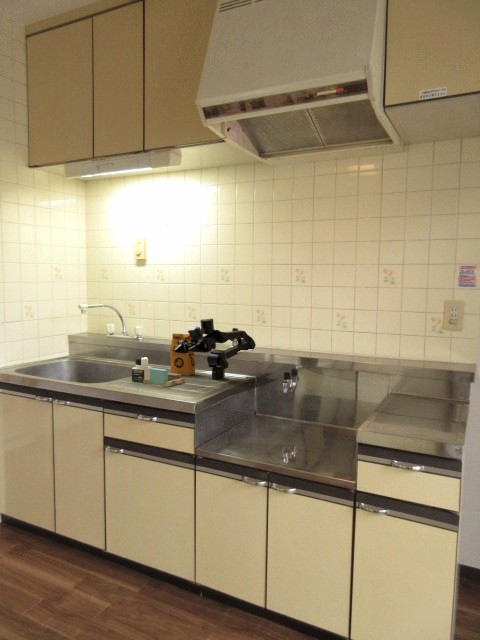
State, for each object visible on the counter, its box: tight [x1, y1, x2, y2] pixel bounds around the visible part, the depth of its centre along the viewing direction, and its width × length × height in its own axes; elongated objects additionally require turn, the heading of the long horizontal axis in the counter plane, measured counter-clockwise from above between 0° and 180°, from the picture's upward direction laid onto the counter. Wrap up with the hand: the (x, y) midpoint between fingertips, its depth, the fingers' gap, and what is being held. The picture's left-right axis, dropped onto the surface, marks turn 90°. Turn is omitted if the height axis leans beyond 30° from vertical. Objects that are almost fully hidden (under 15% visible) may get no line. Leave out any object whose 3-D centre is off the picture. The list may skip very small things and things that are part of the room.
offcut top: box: [168, 372, 182, 379], centre depth 220 cm, size 4×8×2 cm, turn 60°
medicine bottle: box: [131, 356, 153, 383], centre depth 223 cm, size 7×7×12 cm
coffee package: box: [169, 332, 196, 377], centre depth 239 cm, size 10×12×22 cm
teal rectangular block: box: [150, 367, 169, 386], centre depth 213 cm, size 2×9×7 cm, turn 56°
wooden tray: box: [143, 377, 186, 388], centre depth 217 cm, size 14×13×3 cm
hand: (181, 350), depth 206 cm, fingers open, 9 cm apart
